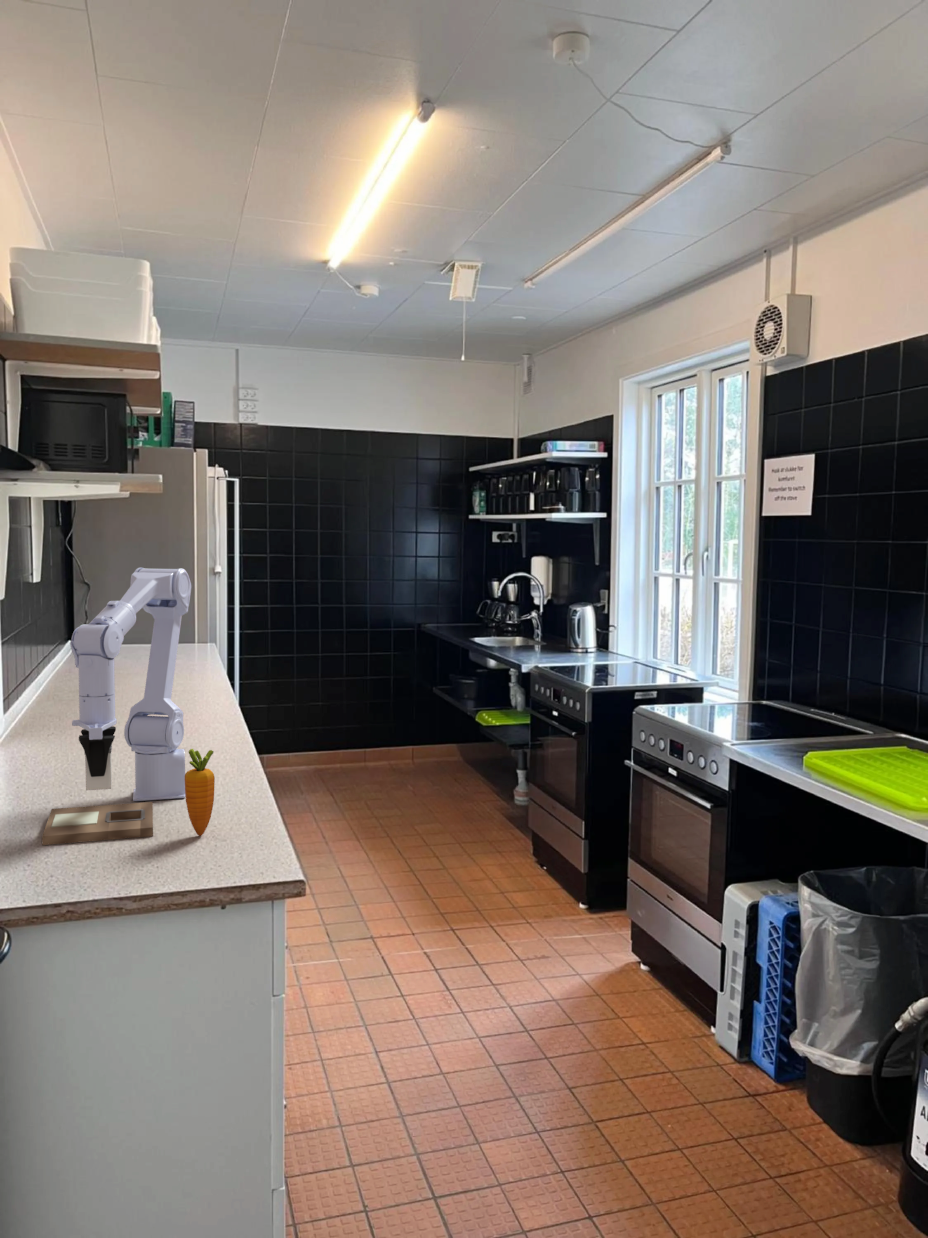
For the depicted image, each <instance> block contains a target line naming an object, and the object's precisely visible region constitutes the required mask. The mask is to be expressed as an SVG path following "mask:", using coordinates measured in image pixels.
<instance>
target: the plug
mask: <svg viewBox="0 0 928 1238" xmlns="http://www.w3.org/2000/svg"><path fill="white" fill-rule="evenodd" d="M112 749H113V743H112V744H111V747H110V749H109V753H108V758H107V765H106V771H105V775H104V776H98V777H91V774H90V771H89V766H88V762H87V757H86V754H85V751H84V750H83V751H84V752H83V753H84V759H85V761H84V762H85V767H84V768H85V791H98V790H99V791H101V790H112V784H113V782H112V781H113V779H112V778H113V776H112V775H113V774H112V772H113V771H112V770H113V767H112Z"/></svg>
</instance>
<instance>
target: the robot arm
mask: <svg viewBox="0 0 928 1238" xmlns="http://www.w3.org/2000/svg"><path fill="white" fill-rule="evenodd" d="M191 592H192V582H191V580H190V576H189V574H188V572H187V570H186V569H184V568H181V567H180V568H146V567H145V568H144V567H137V568H136V569H135V570H134V572H133V573H131V576H130V586H129V588H128V589H127V590H126V592H125V593H124V594H123V596H122V597H121V598H120V600H110V601H108V602H107V603H106V606H105V607H103V609H102V610H100V612H99V613H98V614H97V615H96V616H95V617H94V618H93V619H92V620H91V621H90V622H89V623H88V624H87V623H86V624H85V623H84V624H81V625H79V626H78V627H76V628H75V629H74V631H73V633H72V635H71V641H70V650H71V653H72V655H73V657H74V665H75V668H77V669H78V703H79V704H78V705H79V706H78V708H79V709H78V710H79V714H78V715H79V717H78V718H79V719H73V720H72V721H71V726H72V727H75V726H77V727H79V728H82V729H81V730H80V733H81V734H79V736H78V741H79V744H80V745H81V747H82V749H83V751H85V752H84V755H85V754H86V757H87V762H88V766H89V771H90V774H91V777H98V776H104V775H105V771H106V765H107V758H108V753H109V749H110V747H111V744H112V745H113V742H114V739H116V738H115V737H116V735H115V733H116V731H117V726H115V725H117V722H118V720H117V718H116V689H115V688H116V687H115V686H116V683H115V679H116V678H115V676H116V675H115V670H116V669H115V658H116V657H117V656H118V655H119V654H120V652H121V648H122V644H123V642H124V640H125V637H124V636H126V634H128V632H129V631H130V630H131V629H132V628H133V627H134V626H135V625H136V621H137V614H138V612H140V610H142V609H143V611H144V612H146V613H147V614H150V615H151V616H152V618H153V619H154V620H153V627H152V635H151V641H150V643H151V644H150V649H149V650H150V651H149V657H148V666H147V671H146V672H147V673H146V679H145V688H144V694H143V698H142V699H141V700H139V701H138V702H137V703H135V704H134V705H132V706H131V707H130V710H129V714H128V718H127V721H126V722H125V725H124V728H123V729H124V731H123V734H124V735H123V736H124V740H125V742H126V744H127V745H128V747H130V748H131V752H134V770H135V771H134V776H135V780H134V781H135V782H134V783H135V784H134V785H135V788H133V793H132V800H133V802H144V801H145V802H146V801H157V800H158V801H159V800H172V799H174V800H175V799H186V796H185V773H186V754H185V753H186V751H185V749H183V748H179V746H180V745H181V744H182V742H183V740H184V735H185V725H184V712H183V710H182V709H181V708H180V707H179V705H177V704H176V703H175V702H174V701H172V695H173V693H172V692H173V689H174V679H175V670H176V664H177V657H178V656H177V655H178V648H179V641H180V632H181V624H182V616H184V615H185V614H188V613H189V606H190V601H191V600H190V599H191V594H192V593H191Z"/></svg>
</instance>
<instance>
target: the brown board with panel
mask: <svg viewBox="0 0 928 1238" xmlns="http://www.w3.org/2000/svg"><path fill="white" fill-rule="evenodd" d="M153 803H154V802H153V801H145V802H144V801H142V802H132V803H131V802H129V803H120V804H119V803H118V804H105V805H103V804H102V805H88V806H87V805H86V806H74V807H62V808H61V807H60V808H51V810H50V814H49V816H48V819H47V822H46V824H45V827H44V830H43V832H42V834H41V835H42V836H41V842H42V843H41V845H42V846H49V845H61V844H73V843H75V844H76V843H86V842H98V841H99V842H100V841H109V840H110V841H111V840H122V839H135V838H147V837H153V836H154V817H153V816H154V809H153V808H154V807H153V805H154V804H153Z"/></svg>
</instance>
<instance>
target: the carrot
mask: <svg viewBox="0 0 928 1238" xmlns="http://www.w3.org/2000/svg"><path fill="white" fill-rule="evenodd" d="M188 754H189V757H190V759H191V760H192V761H191V760H190V761H189V765H191V766H192V767H193V768H192V769H190V770H188V771H185V796H186V797H185V804H186V808H187V813H188V818H189V821H190V823H191V826H192V827H193V829H194V832H195V833H196V834H197V836H198V837H201V836H203V834H205V833H206V830H207V828H208V826H209V823H210V821H211V818H212V812H213V807H214V802H215V801H214V800H215V781H216V779H215V773H214V772H213V771H212V770H211V769H210V768H208V767H207V768H206V766H207V765H208V763H209V761H210V759H211V758H212V755H213V754H214V750H212V749H209V750H208V751H207V753H206V754H205V756H204V757H202V755H201V752H200V751H199V750H195V749H194V748H190V749H189V750H188Z"/></svg>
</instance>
